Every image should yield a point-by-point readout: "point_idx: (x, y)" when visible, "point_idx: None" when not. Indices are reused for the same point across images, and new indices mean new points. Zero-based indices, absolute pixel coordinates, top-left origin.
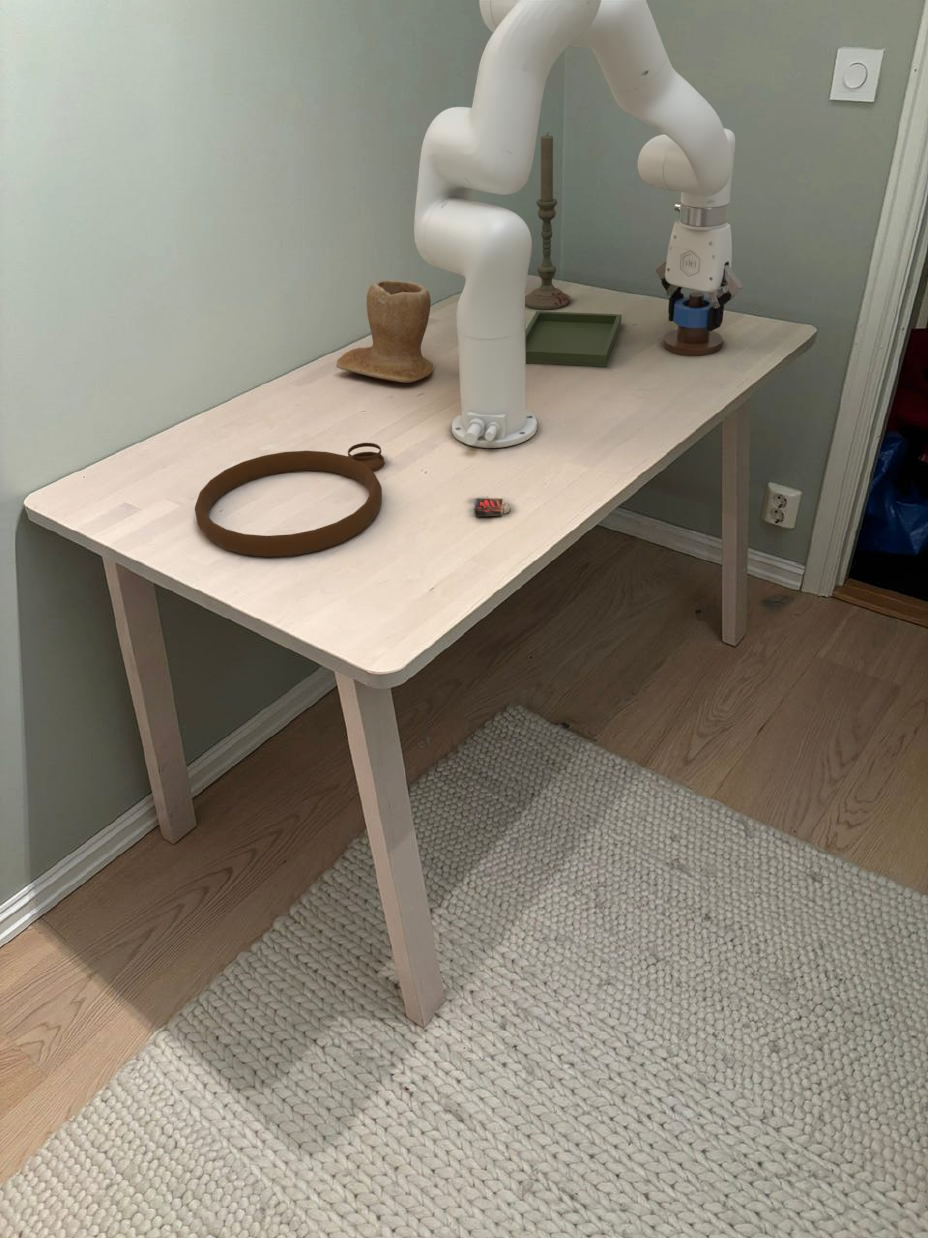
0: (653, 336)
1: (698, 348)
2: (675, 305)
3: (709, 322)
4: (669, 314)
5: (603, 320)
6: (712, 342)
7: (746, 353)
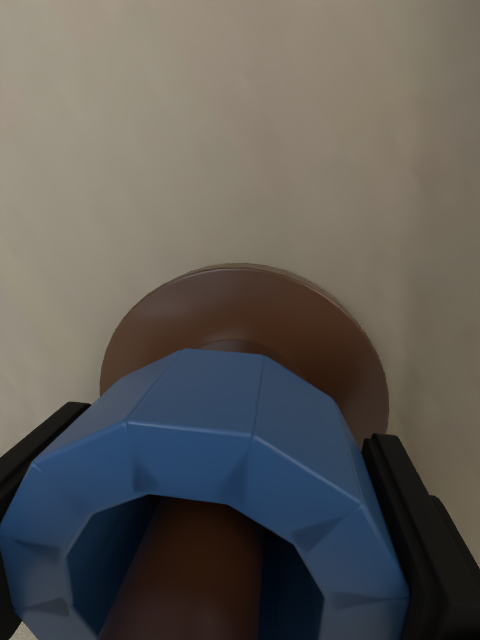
0: (459, 399)
1: (136, 309)
2: (338, 484)
3: (45, 430)
4: (405, 462)
5: None
6: None
7: (26, 421)
